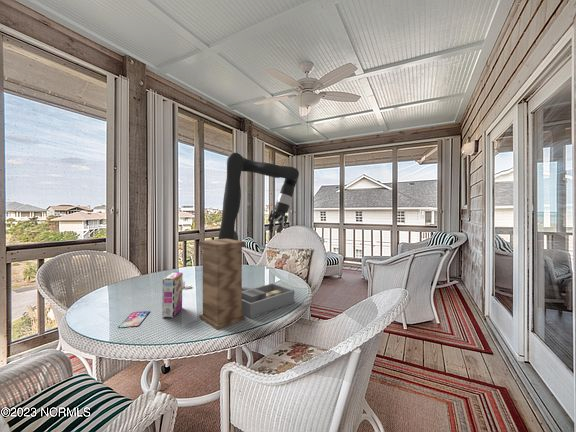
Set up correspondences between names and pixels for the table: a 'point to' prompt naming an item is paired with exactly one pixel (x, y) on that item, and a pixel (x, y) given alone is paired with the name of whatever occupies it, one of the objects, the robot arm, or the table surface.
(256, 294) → the mallet
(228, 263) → the walnut stand
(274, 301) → the charcoal tray
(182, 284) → the teacup and saucer
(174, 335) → the table surface
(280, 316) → the table surface
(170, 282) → the candy bar box
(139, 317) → the smartphone
